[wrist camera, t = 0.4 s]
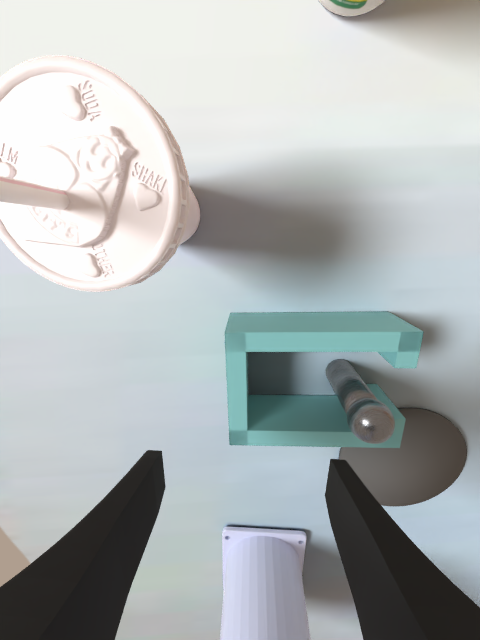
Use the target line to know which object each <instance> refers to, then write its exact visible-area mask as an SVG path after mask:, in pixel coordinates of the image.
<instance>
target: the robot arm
mask: <svg viewBox="0 0 480 640" xmlns="http://www.w3.org/2000/svg"><path fill="white" fill-rule="evenodd" d="M164 490H165V479H164V469H163V459H162V451H153V450H148V451H146V452H145V454H144V455H143V456H142V457H141V458H140V459H139V460H138V462H137V463H136V464H135V465H134V466H133V467H132V468H131V469H130V471H129V472H128V473H127V474H126V475H125V476H124V477H123V478H122V479H121V481H120V482H119V483H118V484H117V485H116V486H115V487H114V488H113V489H112V490H111V491H110V492H109V493H108V494H107V495H106V496H105V498H104V499H103V500H102V501H101V502H100V503H99V504H97V505H96V506H95V507H94V508H93V509H92V510H91V511H90V512H89V513H88V514H87V515H86V516H85V517H84V518H83V519H82V520H81V521H80V522H79V523H78V524H77V525H76V526H75V527H74V528H72V529H71V530H70V531H69V532H68V533H67V534H66V535H65V536H64V537H62V538H61V539H60V540H59V541H58V542H57V543H56V544H54V545H53V546H52V547H51V548H50V549H48V550H47V551H46V552H45V553H43V554H42V555H41V556H40V557H39V558H37V559H36V560H35V561H34V562H33V563H31V564H30V565H29V566H28V567H26V568H25V569H24V570H22V571H21V572H20V573H19V574H17V575H16V576H15V577H13V578H12V579H11V580H9V581H8V582H7V583H5V584H4V585H3V586H1V587H0V640H115V636H116V633H117V630H118V626H119V623H120V620H121V616H122V613H123V610H124V606H125V603H126V600H127V596H128V594H129V591H130V588H131V585H132V582H133V579H134V577H135V574H136V571H137V569H138V566H139V563H140V561H141V558H142V555H143V553H144V550H145V548H146V545H147V542H148V540H149V537H150V534H151V532H152V529H153V526H154V524H155V521H156V518H157V516H158V512H159V509H160V505H161V502H162V498H163V494H164ZM325 498H326V503H327V508H328V513H329V518H330V523H331V527H332V530H333V533H334V537H335V540H336V543H337V547H338V550H339V553H340V556H341V560H342V563H343V566H344V569H345V573H346V576H347V579H348V582H349V586H350V589H351V592H352V595H353V599H354V603H355V606H356V610H357V614H358V618H359V622H360V626H361V631H362V635H363V639H364V640H480V607H478V606H477V605H476V604H475V603H474V602H473V601H472V600H471V599H470V598H469V597H468V596H466V595H465V594H464V593H463V592H462V591H461V590H460V589H459V588H458V587H457V586H455V585H454V584H453V583H452V582H451V581H450V580H449V579H448V578H447V577H446V576H445V575H444V574H443V573H442V572H441V571H440V570H439V569H438V568H437V567H436V566H435V565H434V564H433V563H432V562H431V561H430V560H429V559H428V558H427V557H426V556H425V555H424V554H423V553H422V551H421V550H420V549H419V548H418V547H417V546H416V545H415V544H414V543H413V542H412V541H411V540H410V539H409V537H408V536H407V535H406V534H405V533H404V532H403V531H402V530H401V528H400V527H399V526H398V525H397V524H396V523H395V522H394V520H393V519H392V518H391V517H390V516H389V514H388V513H387V512H386V511H385V510H384V508H383V507H382V506H381V505H380V504H379V502H378V501H377V500H376V499H375V497H374V496H373V495H372V494H371V492H370V491H369V490H368V489H367V487H366V486H365V485H364V483H363V482H362V481H361V479H360V478H359V477H358V476H357V474H356V473H355V472H354V470H353V469H352V467H351V466H350V465H349V463H348V462H347V461H346V460H340V459H330V466H329V473H328V479H327V486H326V493H325ZM306 539H307V538H306V533H305V532H303V531H295V530H278V529H261V528H244V527H224V528H223V532H222V546H223V590H224V596H223V608H222V620H221V632H220V640H311V638H310V631H309V624H308V617H307V610H306V603H305V595H304V588H303V581H302V570H303V562H304V555H305V547H306Z"/></svg>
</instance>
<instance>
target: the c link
mask: <svg viewBox="0 0 480 640" xmlns="http://www.w3.org/2000/svg"><path fill="white" fill-rule="evenodd" d="M423 333H424V332H423V331H422V330H420V329H418V328H416V327H415V326H413V325H411V324H409V323H408V322H406V321H404V320H402V319H400V318H399V317H397V316H395V315H393V314H392V313H390V312H388V311H386V312H277V313H230V316H229V319H228V323H227V326H226V330H225V353H226V375H227V398H228V420H229V442H230V445H256V446H312V447H367V448H400V445H401V440H402V435H403V430H404V425H405V420H406V419H405V417H404V416H403V415H402V414H401V413H400V411H399V410H398V409H397V408H396V407H395V405H394V404H393V403H392V402H391V401H390V399H389V398H388V397H387V396H386V394H385V393H384V392H383V391H382V390H381V388H380V387H379V386H378V385H377V384H366V385H367V386H368V388H369V389H370V390H371V392H372V393H373V394H374V396H375V397H376V398H377V400H379V401H381V402H382V403H384V404H385V405H386V406H387V407H388V408H389V409H390V411H391V412H392V414H393V416H394V420H395V429H394V432H393V434H392V436H391V437H390V438H389V439H388V440H387V441H385V442H383V443H379V444H370V443H366V442H364V441H362V440H360V439H358V438H357V437H356V436H355V435H354V434H353V433H352V432H351V430H350V428H349V426H348V423H347V415H346V413H345V411H344V409H343V407H342V405H341V403H340V401H339V399H338V397H337V395H248V352H378V353H379V354H380V355H381V356H382V357H383V358H384V359H385V360H387V361H388V362H389V363H390V364H391V365H392V366H393V367H394V368H416V367H417V362H418V357H419V352H420V347H421V342H422V338H423Z"/></svg>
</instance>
